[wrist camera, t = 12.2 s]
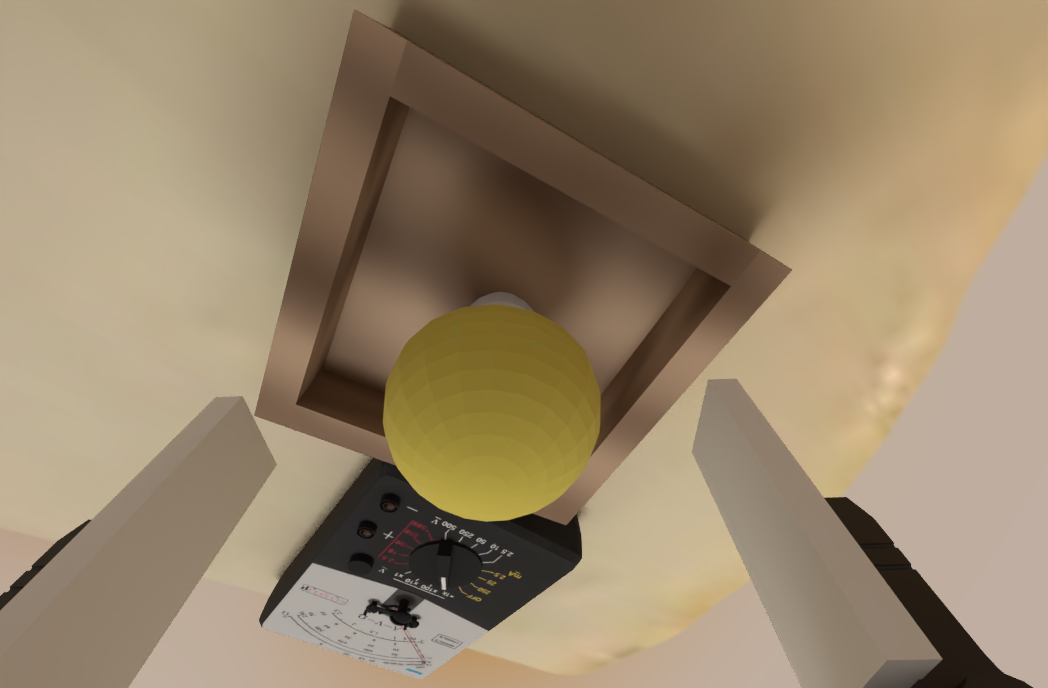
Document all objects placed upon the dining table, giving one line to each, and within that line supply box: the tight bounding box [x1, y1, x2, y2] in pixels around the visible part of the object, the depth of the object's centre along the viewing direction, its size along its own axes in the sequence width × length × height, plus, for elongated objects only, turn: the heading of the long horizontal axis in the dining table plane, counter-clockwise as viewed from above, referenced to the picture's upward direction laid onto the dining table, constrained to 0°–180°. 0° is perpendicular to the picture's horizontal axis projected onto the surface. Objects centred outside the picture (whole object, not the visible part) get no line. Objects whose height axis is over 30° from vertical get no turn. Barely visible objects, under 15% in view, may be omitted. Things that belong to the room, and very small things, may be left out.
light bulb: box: [383, 292, 601, 522], centre depth 15 cm, size 7×7×10 cm
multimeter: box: [259, 458, 582, 679], centre depth 27 cm, size 13×19×5 cm
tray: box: [254, 9, 792, 525], centre depth 18 cm, size 16×16×3 cm
